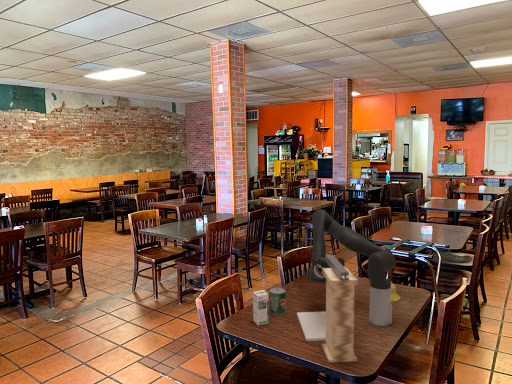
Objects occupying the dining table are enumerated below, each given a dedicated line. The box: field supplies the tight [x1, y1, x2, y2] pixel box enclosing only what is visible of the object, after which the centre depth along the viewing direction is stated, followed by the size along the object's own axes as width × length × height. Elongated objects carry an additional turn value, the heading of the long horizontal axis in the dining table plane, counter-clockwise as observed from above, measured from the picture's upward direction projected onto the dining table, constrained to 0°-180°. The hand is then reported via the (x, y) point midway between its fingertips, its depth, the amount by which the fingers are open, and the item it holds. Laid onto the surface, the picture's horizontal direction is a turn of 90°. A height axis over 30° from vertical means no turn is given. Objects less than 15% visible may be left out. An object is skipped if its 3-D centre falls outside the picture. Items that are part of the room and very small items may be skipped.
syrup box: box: [252, 289, 270, 326], centre depth 175 cm, size 6×6×14 cm
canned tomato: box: [269, 287, 287, 316], centre depth 187 cm, size 8×8×11 cm
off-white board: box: [296, 311, 326, 342], centre depth 171 cm, size 18×26×1 cm
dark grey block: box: [325, 254, 349, 280], centre depth 149 cm, size 3×26×3 cm, turn 3°
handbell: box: [386, 251, 401, 301], centre depth 202 cm, size 12×12×25 cm
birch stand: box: [321, 267, 359, 363], centre depth 147 cm, size 11×15×32 cm
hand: (330, 259), depth 158 cm, fingers open, 8 cm apart
